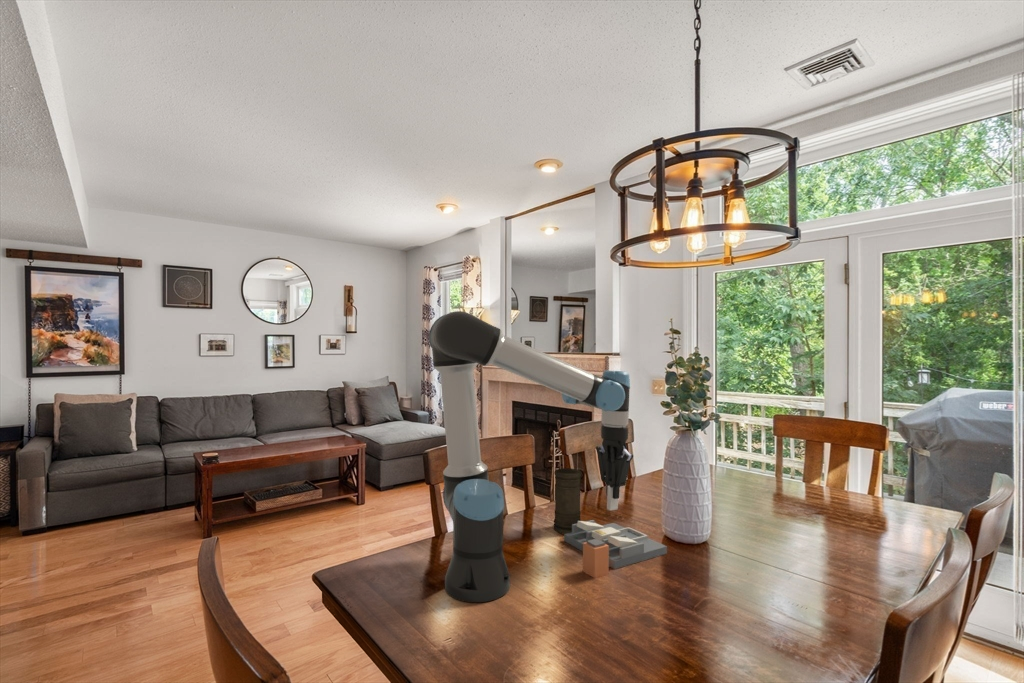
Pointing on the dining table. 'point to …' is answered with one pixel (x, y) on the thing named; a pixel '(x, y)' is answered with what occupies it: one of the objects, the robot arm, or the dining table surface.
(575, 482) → the container
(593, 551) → the orange block
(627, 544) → the rocker near
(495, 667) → the dining table surface
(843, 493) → the dining table surface
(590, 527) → the rocker far
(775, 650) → the dining table surface
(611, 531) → the plate
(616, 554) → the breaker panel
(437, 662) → the dining table surface
